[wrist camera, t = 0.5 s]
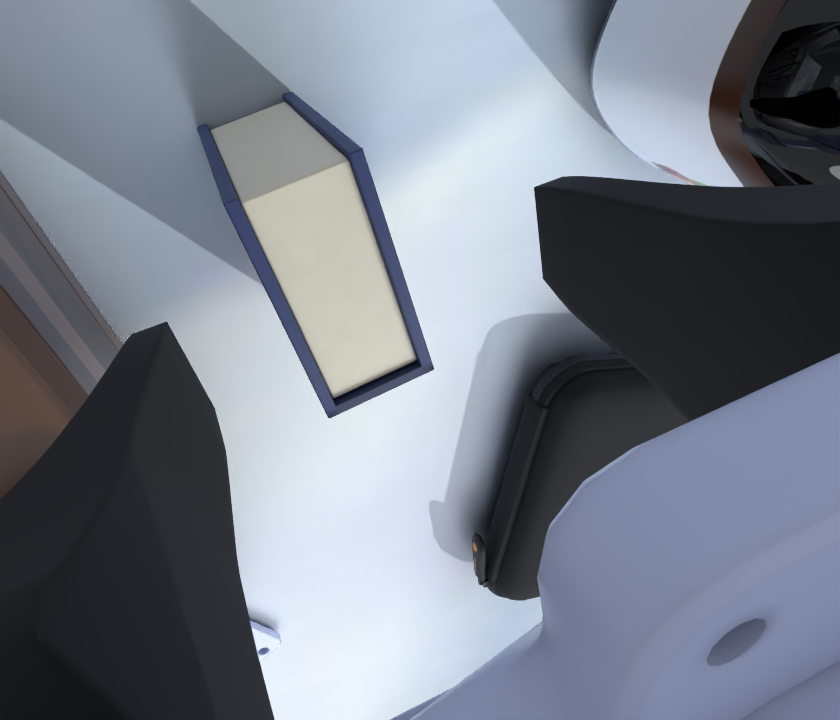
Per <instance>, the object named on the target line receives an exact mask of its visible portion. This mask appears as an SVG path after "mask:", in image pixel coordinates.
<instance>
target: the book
mask: <svg viewBox="0 0 840 720" xmlns="http://www.w3.org/2000/svg"><path fill="white" fill-rule="evenodd" d="M283 97H284V100H285V102H282V103H280V104H277V105H274V106H272V107H269V108H266V109H264V110H261V111H259V112H256V113H253V114H251V115H248V116H246V117H243V118H240V119H238V120H235V121H233V122H230V123H227V124H225V125H222V126H220V127H217V128H214V129H212V130H211V131H209V129H208V126H207V125H206V124H204V125H202V126H199V127H197V130H198V133H199V136H200V138H201V141H202V144H203V147H204V150H205V153H206V156H207V158H208V161H209V164H210V167H211V170H212V173H213V176H214V178H215V181H216V184H217V187H218V190H219V193H220V196H221V198H222V201H223V204H224V207H225V209H226V211H227V213H228V215H229V217H230V219H231V221H232V223H233V225H234V227H235V229H236V231H237V233H238V235H239V237H240V239H241V241H242V243H243V245H244V247H245V249H246V251H247V253H248V255H249V257H250V259H251V261H252V264H253V266H254V268H255V270H256V272H257V274H258V276H259V278H260V280H261V282H262V284H263V286H264V288H265V290H266V292H267V294H268V296H269V298H270V300H271V302H272V304H273V306H274V308H275V310H276V312H277V314H278V316H279V318H280V320H281V323H282V325H283V327H284V329H285V331H286V333H287V335H288V337H289V339H290V341H291V343H292V345H293V347H294V349H295V351H296V353H297V355H298V357H299V359H300V361H301V363H302V365H303V367H304V369H305V371H306V373H307V375H308V377H309V380H310V382H311V384H312V386H313V388H314V390H315V392H316V394H317V396H318V398H319V400H320V402H321V404H322V406H323V408H324V410H325V412H326V414H327V416H328V418H331V417H334V416H336V415H338V414H340V413H342V412H344V411H346V410H349V409H351V408H353V407H355V406H357V405H359V404H361V403H363V402H366V401H368V400H370V399H372V398H374V397H376V396H378V395H381V394H383V393H385V392H387V391H389V390H391V389H393V388H396V387H398V386H400V385H402V384H404V383H406V382H408V381H411V380H413V379H415V378H417V377H419V376H421V375H423V374H426V373H428V372H430V371H432V370H434V367H433V364H432V361H431V358H430V355H429V352H428V349H427V346H426V343H425V340H424V337H423V333H422V330H421V327H420V324H419V321H418V318H417V315H416V312H415V309H414V306H413V303H412V300H411V296H410V293H409V290H408V287H407V284H406V281H405V278H404V275H403V272H402V269H401V266H400V263H399V260H398V256H397V253H396V250H395V247H394V244H393V241H392V238H391V235H390V232H389V229H388V226H387V223H386V219H385V216H384V213H383V210H382V207H381V204H380V201H379V198H378V195H377V192H376V189H375V186H374V182H373V179H372V176H371V173H370V170H369V167H368V164H367V161H366V158H365V155H364V152H363V149H362V148H361V147H360V146H358V145H357V144H356V143H355V142H353V141H352V140H351V139H350V138H348V137H347V136H346V135H345V134H343V133H342V132H341V131H340V130H339V129H337V128H336V127H335V126H334V125H332V124H331V123H330V122H329V121H327V120H326V119H325V118H324V117H322V116H321V115H320V114H319V113H318V112H316V111H315V110H314V109H313V108H311V107H310V106H309V105H308V104H306V103H305V102H304V101H303V100H301V99H300V98H299V97H298V96H297V95H295V94H294V93H293V92H288V93H286V94H284V95H283Z"/></svg>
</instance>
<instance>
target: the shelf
mask: <svg viewBox="0 0 840 720" xmlns="http://www.w3.org/2000/svg"><path fill="white" fill-rule="evenodd" d="M122 346H123V345H122V343H121V342H120V340H119V339H118V338H117V336H116V335H115V333H114V332H113V330H112V329H111V328H110V326H109V325H108V323H107V322H106V321H105V319H104V318H103V316H102V315H101V313H100V312H99V311H98V309H97V308H96V306H95V305H94V303H93V302H92V301H91V299H90V298H89V296H88V295H87V294H86V292H85V291H84V289H83V288H82V286H81V285H80V284H79V282H78V281H77V279H76V278H75V276H74V275H73V274H72V272H71V271H70V269H69V268H68V267H67V265H66V264H65V262H64V261H63V259H62V258H61V257H60V255H59V254H58V252H57V251H56V249H55V248H54V247H53V245H52V244H51V242H50V241H49V240H48V238H47V237H46V235H45V234H44V232H43V231H42V230H41V228H40V227H39V225H38V224H37V222H36V221H35V220H34V218H33V217H32V215H31V214H30V213H29V211H28V210H27V208H26V207H25V205H24V204H23V203H22V201H21V200H20V198H19V197H18V195H17V194H16V193H15V191H14V190H13V188H12V187H11V186H10V184H9V183H8V181H7V180H6V178H5V177H4V176H3V174H2V173H1V171H0V499H1V498H2V497H3V496H4V495H5V494H6V493H7V492H8V491H9V490H10V489H11V488H12V487H13V486H14V485H15V484H16V483H17V482H18V481H19V480H20V479H21V478H22V477H23V476H24V475H25V474H26V473H27V472H28V471H29V470H30V469H31V467H32V466H33V465H34V464H35V463H36V462H37V461H38V460H39V459H40V458H41V456H42V455H43V454H44V453H45V452H46V451H47V450H48V448H49V447H50V446H51V445H52V444H53V442H54V441H55V440H56V439H57V437H58V436H59V435H60V433H61V432H62V431H63V430H64V428H65V427H66V426H67V424H68V423H69V422H70V420H71V419H72V418H73V416H74V415H75V414H76V413H77V411H78V410H79V409H80V407H81V406H82V405H83V403H84V402H85V401H86V399H87V398H88V396H89V395H90V394H91V392H92V391H93V389H94V388H95V386H96V385H97V383H98V382H99V380H100V379H101V377H102V376H103V374H104V373H105V372H106V370H107V369H108V367H109V366H110V364H111V362H112V361H113V359H114V358H115V356H116V355H117V353H118V352H119V351H120V349H121V348H122Z"/></svg>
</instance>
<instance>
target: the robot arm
mask: <svg viewBox="0 0 840 720" xmlns="http://www.w3.org/2000/svg"><path fill="white" fill-rule="evenodd" d="M534 191H535V201H536V211H537V221H538V232H539V242H540V252H541V262H542V272H543V279H544V280H545V281H546V283H547V284H548V285H549V286H550V288H551V289H552V290H553V291H554V293H555V294H556V295H557V297H558V298H559V299H560V300H561V301H562V302H563V303H564V305H565V306H566V307H567V308H568V309H569V310H570V311H571V312H572V313H573V314H574V315H575V316H576V317H577V318H578V319H579V320H581V321H582V322H583V323H584V324H585V325H586V326H587V327H589V328H590V329H591V330H592V331H593V332H594V333H595V334H597V335H598V336H599V337H600V338H601V339H602V340H604V341H605V342H606V343H607V344H608V345H609V346H611V347H612V348H613V349H614V350H615V351H616V352H618V353H619V354H620V355H621V356H622V357H623V358H625V359H626V360H627V361H628V362H629V363H630V364H632V365H633V366H634V367H635V368H636V369H638V370H639V371H640V372H641V373H642V374H643V375H644V376H645V377H647V378H648V379H649V380H650V381H651V382H652V383H653V384H654V385H655V386H656V387H657V388H658V389H659V390H660V391H661V392H662V393H663V394H664V395H665V396H666V397H667V398H668V400H669V401H670V402H671V403H672V404H673V405H674V406H675V407H676V408H677V409H678V410H679V412H680V413H681V414H682V415H683V416H684V417H685V418H686V419H687V420H688V421H689V422H688V423H686V424H684V425H682V426H679V427H677V428H675V429H673V430H671V431H669V432H666V433H664V434H662V435H660V436H658V437H656V438H653V439H651V440H649V441H647V442H645V443H642V444H640V445H638V446H636V447H634V448H632V449H630V450H629V451H627V452H626V453H625V454H623V455H622V456H620V457H619V458H617V459H616V460H614V461H613V462H611V463H610V464H608V465H607V466H605V467H604V468H602V469H601V470H599V471H598V472H596V473H595V474H593V475H592V476H590V477H589V478H588V479H586V480H585V481H583V483H582V484H581V485H580V486H579V488H578V489H577V490H576V492H575V493H574V494H573V495H572V497H571V498H570V499H569V501H568V502H567V503H566V504H565V506H564V507H563V508H562V510H561V511H560V512H559V513H558V515H557V516H556V517H555V519H554V520H553V521H552V522H551V524H550V526H549V528H548V531H547V534H546V538H545V543H544V548H543V552H542V557H541V561H540V566H539V571H538V575H537V580H538V586H539V592H540V598H541V605H542V611H543V621H542V622H541V623H539V624H538V625H536V626H535V627H534V628H532V629H531V630H530V631H528V632H527V633H526V634H524V635H523V636H522V637H520V638H519V639H518V640H516V641H515V642H514V643H512V644H511V645H509V646H508V647H507V648H505V649H504V650H503V651H501V652H500V653H499V654H497V655H496V656H495V657H493V658H492V659H491V660H489V661H488V662H487V663H485V664H484V665H483V666H481V667H480V668H479V669H477V670H476V671H475V672H473V673H472V674H471V675H469V676H468V677H466V678H465V679H464V680H462V681H461V682H460V683H458V684H457V685H456V686H454V687H453V688H451V689H449V690H447V691H445V692H443V693H442V694H440V695H438V696H436V697H434V698H432V699H430V700H428V701H426V702H424V703H422V704H420V705H418V706H416V707H414V708H412V709H410V710H408V711H406V712H404V713H402V714H400V715H398V716H396V717H394V718H392V719H390V720H840V182H835V183H824V184H812V185H797V186H768V187H719V186H699V185H682V184H668V183H657V182H646V181H635V180H625V179H614V178H602V177H587V176H569V177H561V178H558V179H555V180H553V181H550V182H547V183H544V184H542V185H539V186H536V187H534ZM280 644H281V638H280V634H279V633H278V632H275V631H273V630H271V629H269V628H266V627H264V626H262V625H259V624H257V623H255V622H253V621H250V619H249V615H248V610H247V606H246V601H245V597H244V593H243V588H242V584H241V579H240V574H239V567H238V561H237V554H236V545H235V535H234V525H233V514H232V504H231V494H230V484H229V475H228V466H227V457H226V450H225V446H224V442H223V438H222V434H221V430H220V426H219V423H218V419H217V415H216V411H215V408H214V406H213V404H212V403H211V401H210V399H209V397H208V395H207V394H206V392H205V390H204V388H203V386H202V385H201V383H200V381H199V379H198V377H197V375H196V374H195V372H194V370H193V368H192V366H191V365H190V363H189V361H188V359H187V357H186V356H185V354H184V352H183V350H182V348H181V347H180V345H179V343H178V341H177V339H176V338H175V336H174V334H173V332H172V330H171V328H170V327H169V325H168V323H167V322H164V323H162V324H159V325H156V326H153V327H151V328H148V329H145V330H142V331H140V332H137V333H134V334H132V335H131V336H130V337H129V338H128V339H127V341H126V342H125V343H124V345H123V346H122V348H121V349H120V351H119V352H118V353H117V355H116V356H115V358H114V359H113V361H112V362H111V364H110V366H109V367H108V369H107V370H106V372H105V373H104V374H103V376H102V377H101V379H100V380H99V382H98V383H97V385H96V386H95V388H94V389H93V391H92V392H91V394H90V395H89V396H88V398H87V399H86V401H85V402H84V403H83V405H82V406H81V407H80V409H79V410H78V411H77V413H76V414H75V415H74V416H73V418H72V419H71V420H70V422H69V423H68V424H67V426H66V427H65V428H64V430H63V431H62V432H61V433H60V435H59V436H58V437H57V439H56V440H55V441H54V442H53V444H52V445H51V446H50V447H49V448H48V450H47V451H46V452H45V453H44V454H43V455H42V456H41V458H40V459H39V460H38V461H37V462H36V463H35V464H34V465H33V466H32V467H31V469H30V470H29V471H28V472H27V473H26V474H25V475H24V476H23V477H22V478H21V479H20V480H19V481H18V482H17V483H16V484H15V485H14V486H13V487H12V488H11V489H10V490H9V491H8V492H7V493H6V494H5V495H4V496H3V497H2V498H1V499H0V720H274V716H273V712H272V709H271V705H270V701H269V697H268V693H267V689H266V685H265V682H264V678H263V674H262V669H261V665H260V662H261V661H262V660H263V659H264V658H265V657H267V656H268V655H269V654H270V653H271V652H273V651H274V650H275V649H276V648H277V647H278V646H279V645H280Z"/></svg>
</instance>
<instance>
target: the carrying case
mask: <svg viewBox="0 0 840 720" xmlns="http://www.w3.org/2000/svg"><path fill="white" fill-rule="evenodd" d="M688 422H689V421H688V420H687V419H686V418H685V417H684V416H683V415H682V414H681V413H680V412H679V410H678V409H677V408H676V407H675V406H674V405H673V404H672V403H671V402H670V401H669V400H668V398H667V397H666V396H665V395H664V394H663V393H662V392H661V391H660V390H659V389H658V388H657V387H656V386H655V385H654V384H653V383H652V382H651V381H650V380H649V379H648V378H647V377H645V376H644V375H643V374H642V373H641V372H640V371H639V370H638V369H636V368H635V367H634V366H633V365H632V364H630V363H629V362H628V361H627V360H626V359H625V358H623V357H622V356H621V355H620V354H619V353H612V354H596V355H580V356H574V357H571V358H568V359H565V360H563V361H561V362H558V363H555V364H553V365H551V366H550V367H548V368H546V369H545V370H544V372H543V373H542V374H541V375H540V377H539V379H538V381H537V383H536V385H535V387H534V389H533V391H532V393H527V395H526V397H525V405H524V409H523V412H522V416H521V419H520V423H519V426H518V430H517V433H516V437H515V440H514V444H513V447H512V451H511V454H510V458H509V462H508V465H507V469H506V472H505V476H504V479H503V483H502V486H501V490H500V493H499V497H498V500H497V504H496V507H495V511H494V514H493V518H492V521H491V525H490V529H489V532H488V536H487V539H486V543H485V545H484V542H483V540H482V538H481V536H480V535H478V534H477V533H475V534H474V535H473V538H472V548H473V560H474V570H475V574H476V576H477V577H478V583H479V584H480V585H483V586H484V588H485V587H488V589H489V590H490V591H491V592H492V593H494V594H495V595H497V596H500V597H504V598H508V599H511V600H526V599H531V598H535V597H539V596H540V592H539V586H538V580H537V575H538V571H539V566H540V561H541V557H542V552H543V548H544V543H545V538H546V534H547V531H548V528H549V526H550V524H551V522H552V521H553V520H554V519H555V517H556V516H557V515H558V513H559V512H560V511H561V510H562V508H563V507H564V506H565V504H566V503H567V502H568V501H569V499H570V498H571V497H572V495H573V494H574V493H575V492H576V490H577V489H578V488H579V486H580V485H581V484H582V483H583V481H585V480H586V479H588V478H589V477H590V476H592V475H593V474H595V473H596V472H598V471H599V470H601V469H602V468H604V467H605V466H607V465H608V464H610V463H611V462H613V461H614V460H616V459H617V458H619V457H620V456H622V455H623V454H625V453H626V452H627V451H629V450H630V449H632V448H634V447H636V446H638V445H640V444H642V443H645V442H647V441H649V440H651V439H653V438H656V437H658V436H660V435H662V434H664V433H666V432H669V431H671V430H673V429H675V428H677V427H679V426H682V425H684V424H686V423H688ZM480 581H481V582H480Z"/></svg>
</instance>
